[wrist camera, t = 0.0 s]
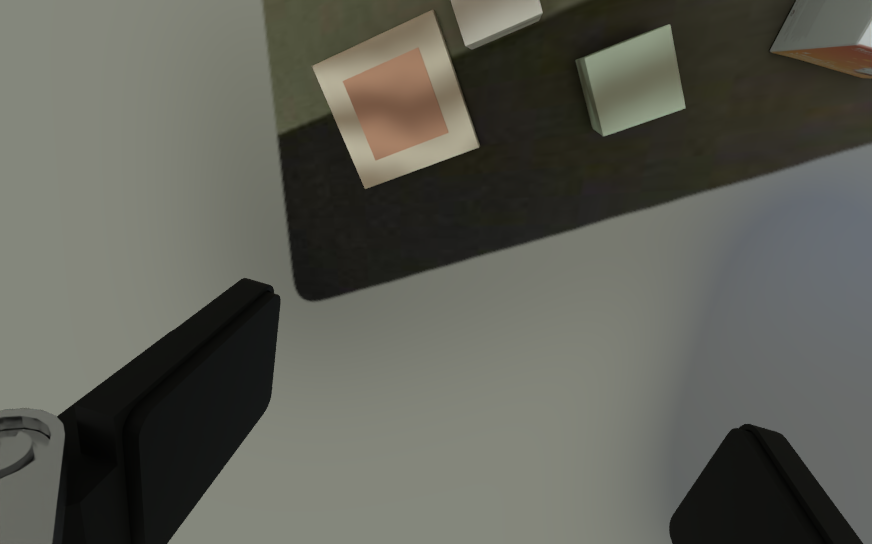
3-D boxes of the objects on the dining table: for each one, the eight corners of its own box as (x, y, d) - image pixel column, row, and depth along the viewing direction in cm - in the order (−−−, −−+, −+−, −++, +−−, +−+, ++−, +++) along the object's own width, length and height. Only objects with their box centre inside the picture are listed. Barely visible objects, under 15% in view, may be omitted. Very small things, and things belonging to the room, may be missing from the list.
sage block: (574, 60, 40) (584, 58, 34) (648, 31, 38) (670, 24, 33) (592, 128, 42) (603, 136, 36) (662, 103, 40) (685, 108, 34)
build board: (317, 66, 43) (311, 66, 42) (434, 11, 40) (432, 9, 39) (368, 186, 47) (364, 189, 46) (479, 145, 44) (479, 147, 42)
